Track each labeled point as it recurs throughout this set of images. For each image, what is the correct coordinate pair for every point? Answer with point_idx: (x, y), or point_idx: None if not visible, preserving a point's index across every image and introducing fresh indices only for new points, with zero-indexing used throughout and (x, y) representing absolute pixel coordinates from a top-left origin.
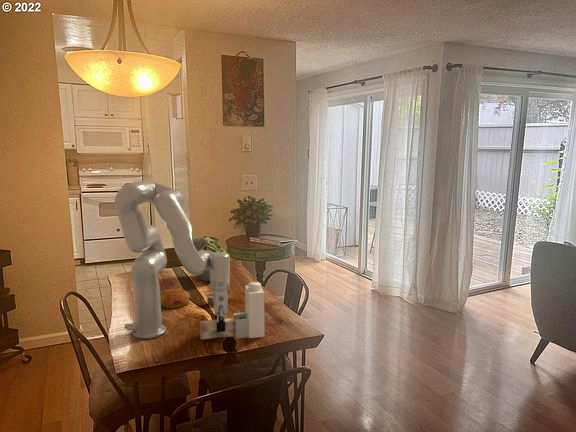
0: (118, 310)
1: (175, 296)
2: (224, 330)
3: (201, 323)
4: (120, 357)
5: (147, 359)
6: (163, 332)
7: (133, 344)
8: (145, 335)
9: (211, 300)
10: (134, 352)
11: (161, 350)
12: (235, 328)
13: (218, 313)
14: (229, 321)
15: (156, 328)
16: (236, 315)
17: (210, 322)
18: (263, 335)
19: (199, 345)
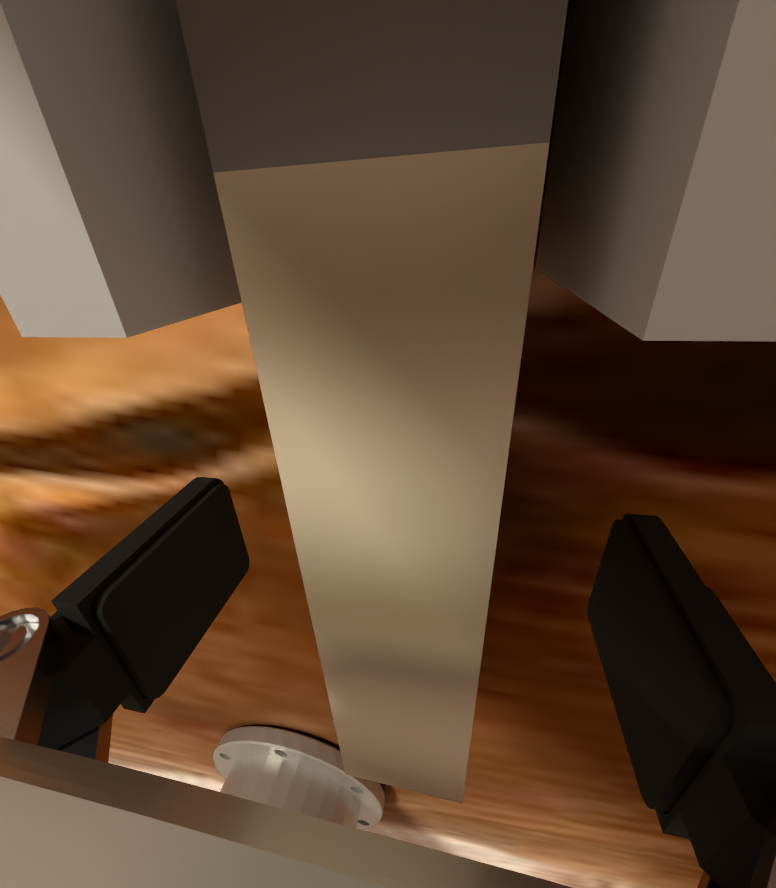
0: None
1: None
2: (656, 532)
3: (431, 787)
4: (559, 878)
5: (650, 847)
6: (327, 753)
7: (431, 828)
8: (369, 815)
9: None
10: (527, 847)
11: (560, 793)
12: (568, 286)
13: (147, 650)
14: (467, 472)
15: (330, 819)
16: (121, 231)
17: (423, 724)
18: None
19: (595, 645)
